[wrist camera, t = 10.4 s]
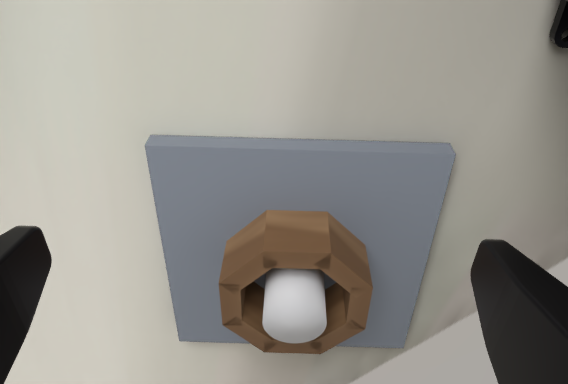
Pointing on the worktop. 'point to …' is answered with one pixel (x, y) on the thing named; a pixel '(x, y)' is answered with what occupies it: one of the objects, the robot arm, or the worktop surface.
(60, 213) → the worktop surface
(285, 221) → the walnut ring
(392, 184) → the post plate
